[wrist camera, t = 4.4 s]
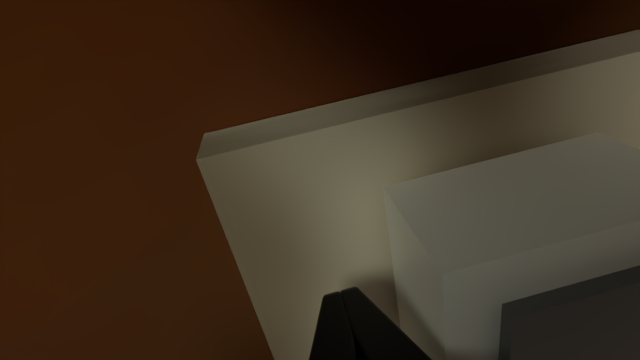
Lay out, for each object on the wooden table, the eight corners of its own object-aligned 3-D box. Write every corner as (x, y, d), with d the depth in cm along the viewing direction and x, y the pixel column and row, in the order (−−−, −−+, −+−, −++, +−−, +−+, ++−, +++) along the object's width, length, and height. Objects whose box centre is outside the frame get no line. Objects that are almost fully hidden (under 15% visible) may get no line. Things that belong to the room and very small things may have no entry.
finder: (401, 338, 10) (458, 468, 8) (382, 186, 8) (455, 293, 5) (567, 291, 11) (681, 399, 8) (597, 132, 8) (775, 205, 5)
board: (308, 418, 14) (314, 461, 13) (204, 133, 9) (195, 159, 7) (728, 296, 15) (772, 324, 14) (883, -30, 10) (983, -33, 8)
